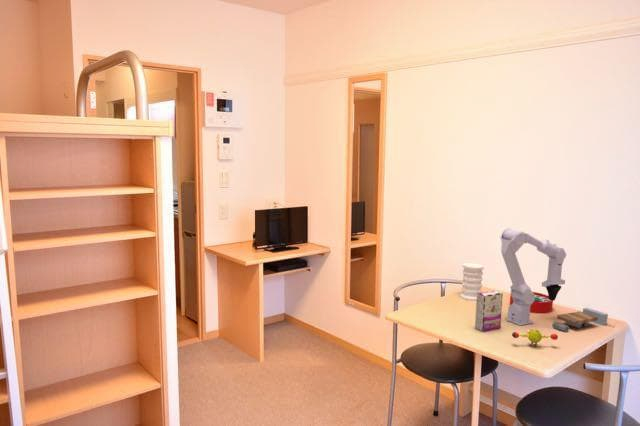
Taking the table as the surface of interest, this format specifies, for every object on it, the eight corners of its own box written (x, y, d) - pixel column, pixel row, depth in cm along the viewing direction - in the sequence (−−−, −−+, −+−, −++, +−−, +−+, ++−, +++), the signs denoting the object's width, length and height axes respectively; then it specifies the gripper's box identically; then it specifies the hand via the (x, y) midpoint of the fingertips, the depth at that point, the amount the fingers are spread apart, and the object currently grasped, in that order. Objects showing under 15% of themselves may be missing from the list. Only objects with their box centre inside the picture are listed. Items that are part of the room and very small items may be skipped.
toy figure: (553, 344, 195) (554, 328, 194) (559, 349, 189) (560, 333, 188) (508, 342, 195) (510, 326, 194) (513, 347, 190) (515, 331, 189)
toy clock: (523, 288, 257) (560, 298, 241) (523, 299, 257) (559, 309, 241) (502, 294, 245) (539, 304, 229) (501, 305, 245) (538, 316, 230)
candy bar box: (491, 324, 215) (494, 289, 213) (500, 328, 211) (503, 292, 209) (473, 328, 210) (476, 292, 208) (482, 332, 206) (485, 295, 204)
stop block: (602, 325, 219) (604, 315, 218) (582, 318, 228) (583, 308, 227) (606, 324, 220) (607, 314, 220) (585, 317, 229) (586, 307, 228)
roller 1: (565, 326, 208) (569, 325, 209) (552, 321, 213) (556, 320, 215) (564, 332, 208) (568, 331, 210) (552, 328, 214) (556, 327, 215)
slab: (575, 324, 210) (575, 321, 209) (557, 318, 217) (557, 315, 217) (597, 320, 217) (597, 317, 217) (578, 314, 225) (579, 311, 225)
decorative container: (459, 293, 263) (461, 262, 261) (481, 295, 260) (483, 263, 258) (460, 299, 252) (462, 266, 250) (482, 302, 249) (485, 268, 247)
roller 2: (582, 321, 214) (581, 328, 214) (569, 317, 219) (568, 323, 220) (577, 322, 213) (577, 329, 213) (565, 318, 218) (564, 324, 218)
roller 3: (584, 327, 216) (585, 321, 215) (572, 323, 221) (572, 317, 221) (588, 326, 217) (589, 320, 217) (576, 322, 222) (576, 316, 222)
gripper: (552, 275, 215) (549, 304, 217) (572, 272, 222) (569, 300, 224) (538, 271, 222) (536, 300, 223) (558, 269, 229) (555, 296, 230)
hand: (551, 300), depth 224 cm, fingers closed
